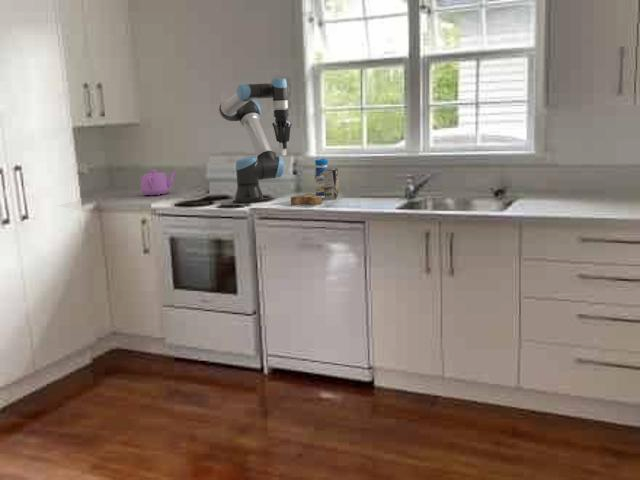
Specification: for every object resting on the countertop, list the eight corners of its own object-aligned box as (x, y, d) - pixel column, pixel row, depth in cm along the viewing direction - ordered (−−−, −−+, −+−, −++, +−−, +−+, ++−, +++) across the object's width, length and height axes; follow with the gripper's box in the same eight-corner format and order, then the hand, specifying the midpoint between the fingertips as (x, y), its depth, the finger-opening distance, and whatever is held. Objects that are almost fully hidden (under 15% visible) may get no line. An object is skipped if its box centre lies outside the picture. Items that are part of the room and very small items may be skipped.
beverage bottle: (332, 194, 371) (330, 158, 367) (329, 197, 363) (328, 159, 359) (316, 195, 372) (315, 158, 368) (314, 197, 364) (312, 160, 360)
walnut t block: (291, 204, 338) (290, 196, 338) (310, 201, 347) (309, 193, 346) (309, 207, 329) (308, 198, 328) (328, 203, 337) (327, 195, 336)
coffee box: (336, 201, 348) (335, 170, 344) (324, 201, 349) (322, 170, 346) (339, 198, 357) (338, 168, 353) (327, 198, 358) (326, 168, 354)
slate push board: (273, 205, 344) (273, 203, 344) (300, 200, 356) (300, 198, 356) (307, 209, 326) (307, 208, 326) (334, 204, 338) (334, 202, 337)
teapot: (136, 198, 398) (133, 172, 395) (146, 193, 419) (144, 168, 415) (174, 196, 397) (171, 171, 394) (183, 191, 417) (180, 167, 414)
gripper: (267, 109, 347) (270, 155, 352) (283, 109, 338) (286, 156, 343) (278, 109, 352) (281, 154, 357) (294, 108, 343) (297, 154, 348)
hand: (283, 155), depth 350 cm, fingers closed
